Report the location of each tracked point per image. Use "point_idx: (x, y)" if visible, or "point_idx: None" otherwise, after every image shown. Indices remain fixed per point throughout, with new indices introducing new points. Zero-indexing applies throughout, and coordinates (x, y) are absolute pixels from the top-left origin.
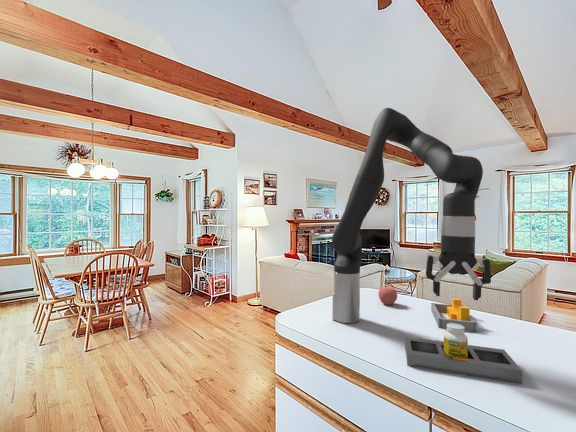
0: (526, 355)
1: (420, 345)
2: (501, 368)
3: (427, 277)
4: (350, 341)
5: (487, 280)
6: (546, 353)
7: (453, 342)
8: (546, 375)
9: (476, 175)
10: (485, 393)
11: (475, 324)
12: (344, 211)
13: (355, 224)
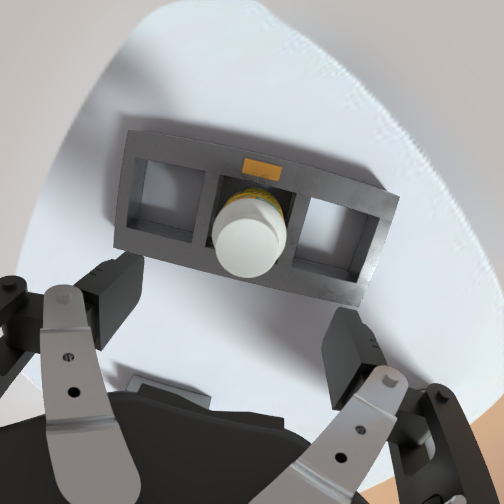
0: (74, 270)
1: (328, 272)
2: (170, 136)
3: (446, 389)
4: (459, 304)
5: (7, 289)
6: (42, 281)
7: (270, 204)
8: (76, 183)
9: None
10: (249, 76)
11: (129, 387)
12: None
13: None
